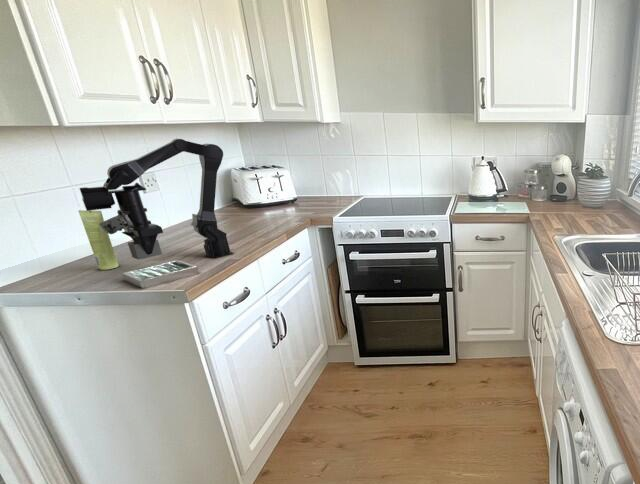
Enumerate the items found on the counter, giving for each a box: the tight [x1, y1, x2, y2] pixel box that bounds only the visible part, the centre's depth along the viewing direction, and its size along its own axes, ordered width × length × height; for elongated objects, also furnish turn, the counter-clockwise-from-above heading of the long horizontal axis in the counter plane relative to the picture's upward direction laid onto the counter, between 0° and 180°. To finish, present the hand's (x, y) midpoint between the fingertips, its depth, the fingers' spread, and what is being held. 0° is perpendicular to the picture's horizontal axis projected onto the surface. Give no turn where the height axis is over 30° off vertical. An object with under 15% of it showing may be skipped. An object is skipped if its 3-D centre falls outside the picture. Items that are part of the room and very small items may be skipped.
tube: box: [77, 209, 119, 271], centre depth 135 cm, size 6×5×20 cm
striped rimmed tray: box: [121, 259, 199, 290], centre depth 130 cm, size 15×13×2 cm
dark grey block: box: [127, 239, 163, 260], centre depth 136 cm, size 6×5×5 cm
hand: (146, 252), depth 136 cm, fingers closed on dark grey block, 4 cm apart
